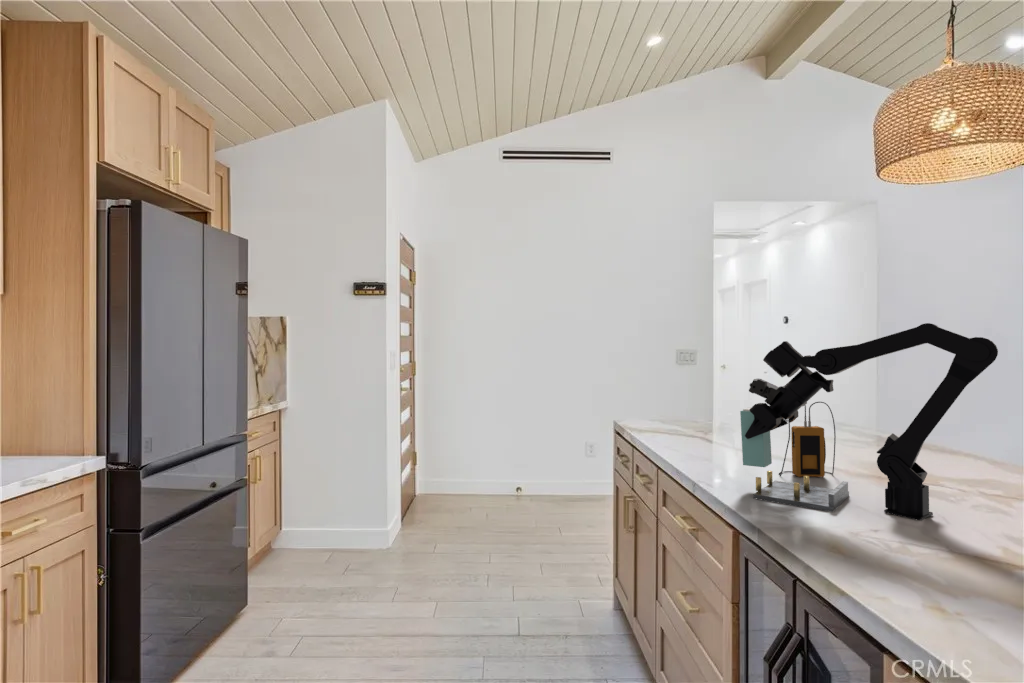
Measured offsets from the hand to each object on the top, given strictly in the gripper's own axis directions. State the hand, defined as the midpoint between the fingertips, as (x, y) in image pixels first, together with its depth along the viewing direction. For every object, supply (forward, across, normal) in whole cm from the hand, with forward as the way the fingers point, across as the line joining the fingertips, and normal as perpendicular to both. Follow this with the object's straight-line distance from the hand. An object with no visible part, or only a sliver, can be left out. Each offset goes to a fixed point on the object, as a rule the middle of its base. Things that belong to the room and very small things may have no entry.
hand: (750, 436), depth 134 cm
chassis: (+2, 0, +17) cm, 17 cm away
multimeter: (+6, -26, +13) cm, 29 cm away
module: (+4, 0, +6) cm, 7 cm away
